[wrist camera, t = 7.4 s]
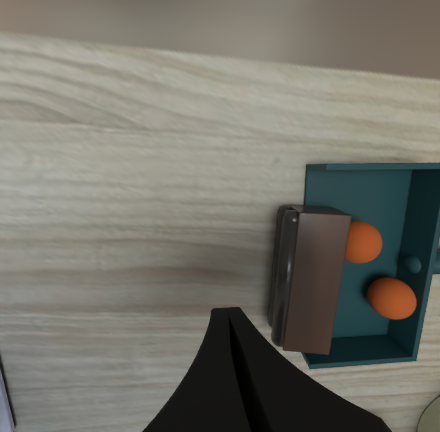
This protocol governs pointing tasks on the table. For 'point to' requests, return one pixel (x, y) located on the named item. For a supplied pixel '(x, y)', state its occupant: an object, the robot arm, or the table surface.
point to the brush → (307, 276)
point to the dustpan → (380, 255)
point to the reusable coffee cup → (430, 418)
